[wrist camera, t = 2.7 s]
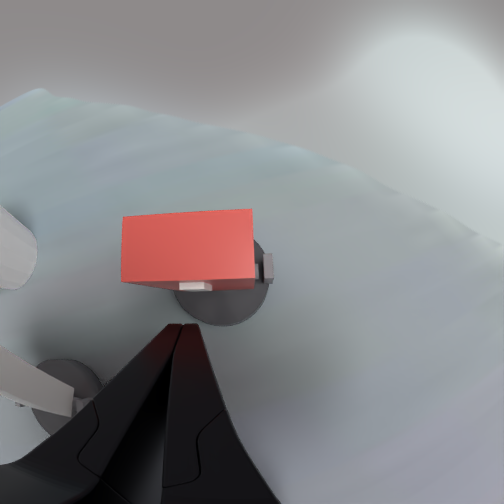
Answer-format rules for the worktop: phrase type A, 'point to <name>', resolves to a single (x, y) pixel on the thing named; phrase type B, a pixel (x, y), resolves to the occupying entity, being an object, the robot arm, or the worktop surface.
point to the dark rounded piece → (230, 297)
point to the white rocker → (34, 386)
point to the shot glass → (15, 252)
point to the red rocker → (190, 250)
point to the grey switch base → (73, 376)
